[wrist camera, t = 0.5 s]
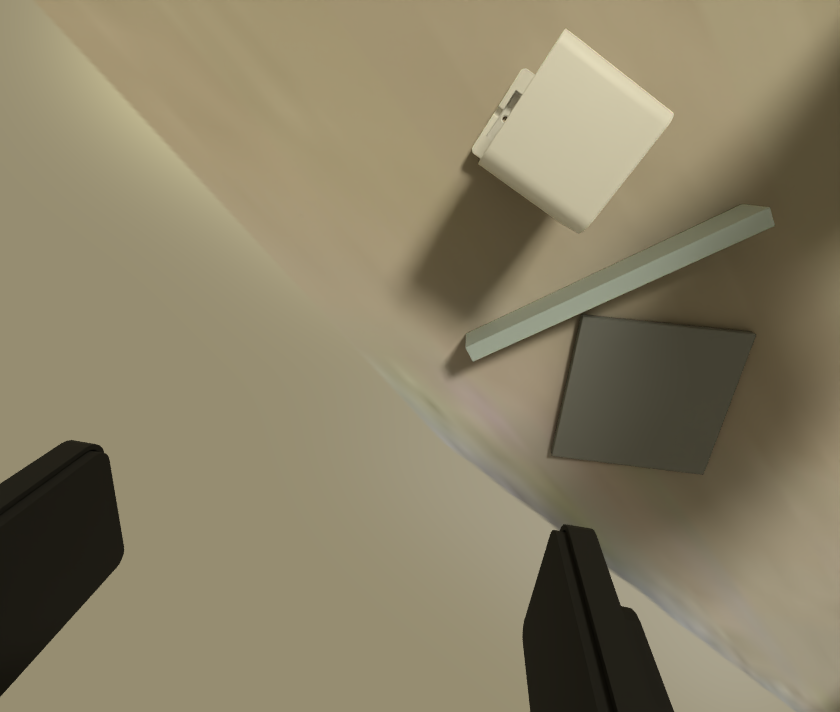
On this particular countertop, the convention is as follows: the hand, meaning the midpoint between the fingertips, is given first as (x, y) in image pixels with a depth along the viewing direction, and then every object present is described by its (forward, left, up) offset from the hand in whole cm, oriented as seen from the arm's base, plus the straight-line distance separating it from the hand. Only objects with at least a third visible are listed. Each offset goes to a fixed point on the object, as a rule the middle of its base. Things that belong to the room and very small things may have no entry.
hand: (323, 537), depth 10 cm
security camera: (-6, -9, -26) cm, 29 cm away
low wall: (-12, -1, -26) cm, 29 cm away
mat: (-17, +8, -26) cm, 32 cm away
